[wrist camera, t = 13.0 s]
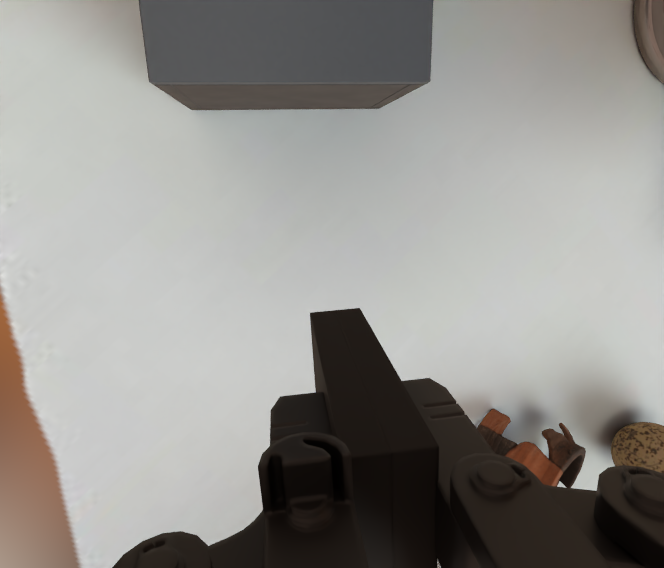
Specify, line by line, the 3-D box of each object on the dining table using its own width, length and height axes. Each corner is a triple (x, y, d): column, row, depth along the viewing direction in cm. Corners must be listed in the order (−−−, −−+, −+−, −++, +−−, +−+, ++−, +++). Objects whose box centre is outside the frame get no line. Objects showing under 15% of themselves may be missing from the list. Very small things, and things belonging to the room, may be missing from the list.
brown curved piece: (504, 380, 44) (587, 429, 38) (522, 411, 50) (595, 457, 44) (435, 478, 42) (509, 544, 36) (462, 496, 48) (530, 556, 43)
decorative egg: (591, 419, 46) (674, 486, 36) (652, 398, 46) (750, 459, 37) (597, 471, 48) (677, 547, 39) (655, 451, 48) (748, 522, 39)
